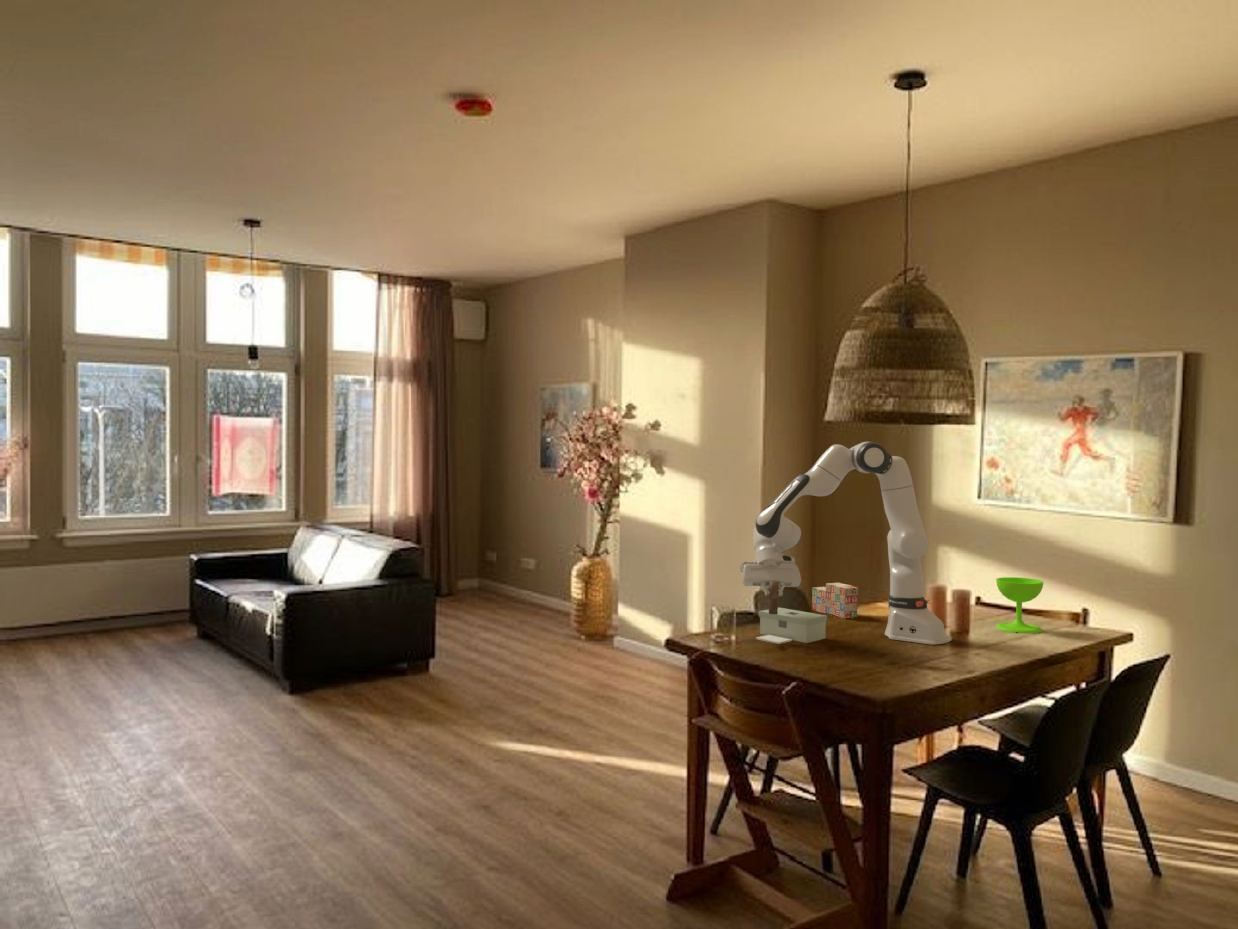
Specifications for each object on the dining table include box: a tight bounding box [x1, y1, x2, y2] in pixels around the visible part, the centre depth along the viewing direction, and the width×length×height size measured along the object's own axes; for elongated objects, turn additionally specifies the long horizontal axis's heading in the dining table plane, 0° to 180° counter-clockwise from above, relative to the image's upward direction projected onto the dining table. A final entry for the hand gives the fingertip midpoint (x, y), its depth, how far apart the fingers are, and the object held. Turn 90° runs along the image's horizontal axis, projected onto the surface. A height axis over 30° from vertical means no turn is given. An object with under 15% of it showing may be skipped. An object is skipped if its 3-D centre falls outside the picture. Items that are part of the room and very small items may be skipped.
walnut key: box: [768, 581, 779, 614], centre depth 313 cm, size 3×3×11 cm
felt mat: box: [755, 635, 793, 645], centre depth 313 cm, size 10×7×1 cm
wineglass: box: [995, 576, 1044, 634], centre depth 335 cm, size 16×16×18 cm
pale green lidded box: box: [758, 607, 828, 644], centre depth 320 cm, size 21×12×8 cm, turn 42°
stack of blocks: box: [811, 582, 859, 620], centre depth 363 cm, size 21×6×12 cm, turn 24°
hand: (774, 594), depth 312 cm, fingers closed on walnut key, 3 cm apart
